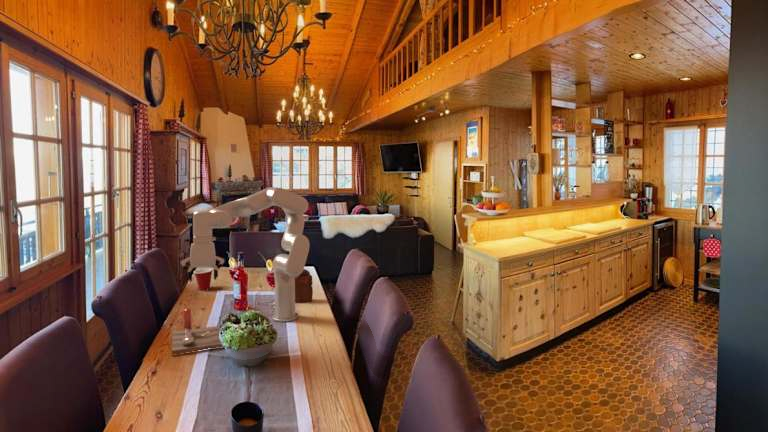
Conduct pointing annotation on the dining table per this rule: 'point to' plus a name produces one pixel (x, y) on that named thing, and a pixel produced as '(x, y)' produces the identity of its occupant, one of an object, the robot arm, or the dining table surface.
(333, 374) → the dining table surface
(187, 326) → the lever
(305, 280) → the wooden figurine
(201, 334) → the lever board
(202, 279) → the plastic cup
